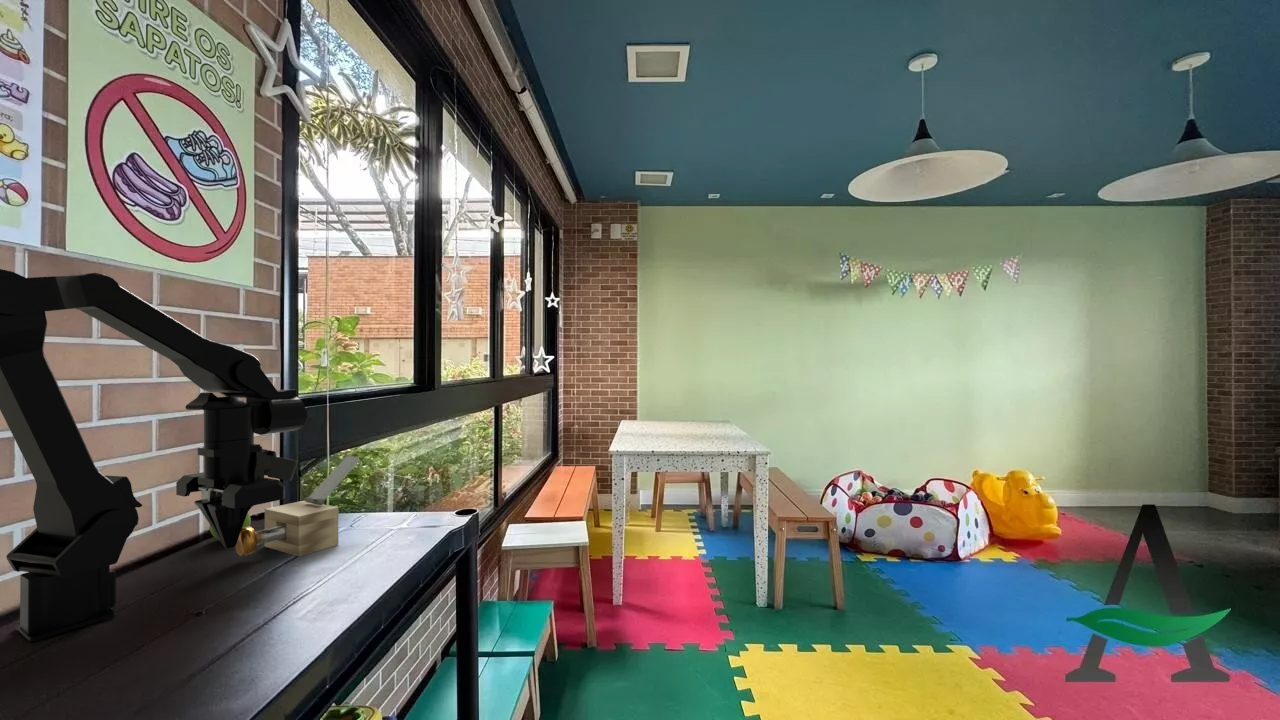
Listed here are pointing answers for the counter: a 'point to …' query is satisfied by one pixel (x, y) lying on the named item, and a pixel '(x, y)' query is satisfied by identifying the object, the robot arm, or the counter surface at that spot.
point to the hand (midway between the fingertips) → (230, 547)
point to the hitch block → (303, 527)
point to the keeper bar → (332, 480)
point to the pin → (257, 538)
